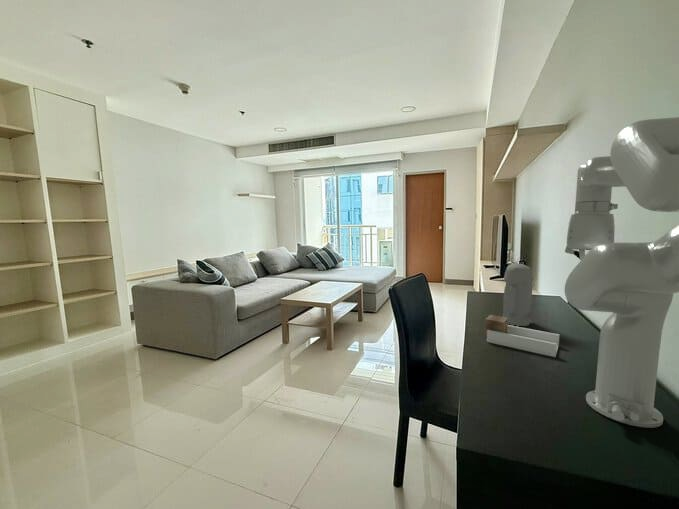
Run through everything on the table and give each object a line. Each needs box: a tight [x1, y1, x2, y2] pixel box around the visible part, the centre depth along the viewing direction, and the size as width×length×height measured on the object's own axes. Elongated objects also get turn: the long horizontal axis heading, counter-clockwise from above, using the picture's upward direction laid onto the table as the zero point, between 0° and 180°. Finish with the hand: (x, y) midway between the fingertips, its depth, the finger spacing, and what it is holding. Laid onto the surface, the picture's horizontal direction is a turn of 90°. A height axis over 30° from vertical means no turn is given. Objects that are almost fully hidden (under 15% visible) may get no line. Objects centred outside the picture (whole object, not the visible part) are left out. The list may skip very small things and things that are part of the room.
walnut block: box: [484, 314, 509, 337], centre depth 112 cm, size 6×7×6 cm
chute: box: [486, 324, 560, 358], centre depth 107 cm, size 20×12×4 cm, turn 51°
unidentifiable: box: [502, 263, 534, 327], centre depth 129 cm, size 15×10×25 cm
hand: (586, 274), depth 86 cm, fingers closed
